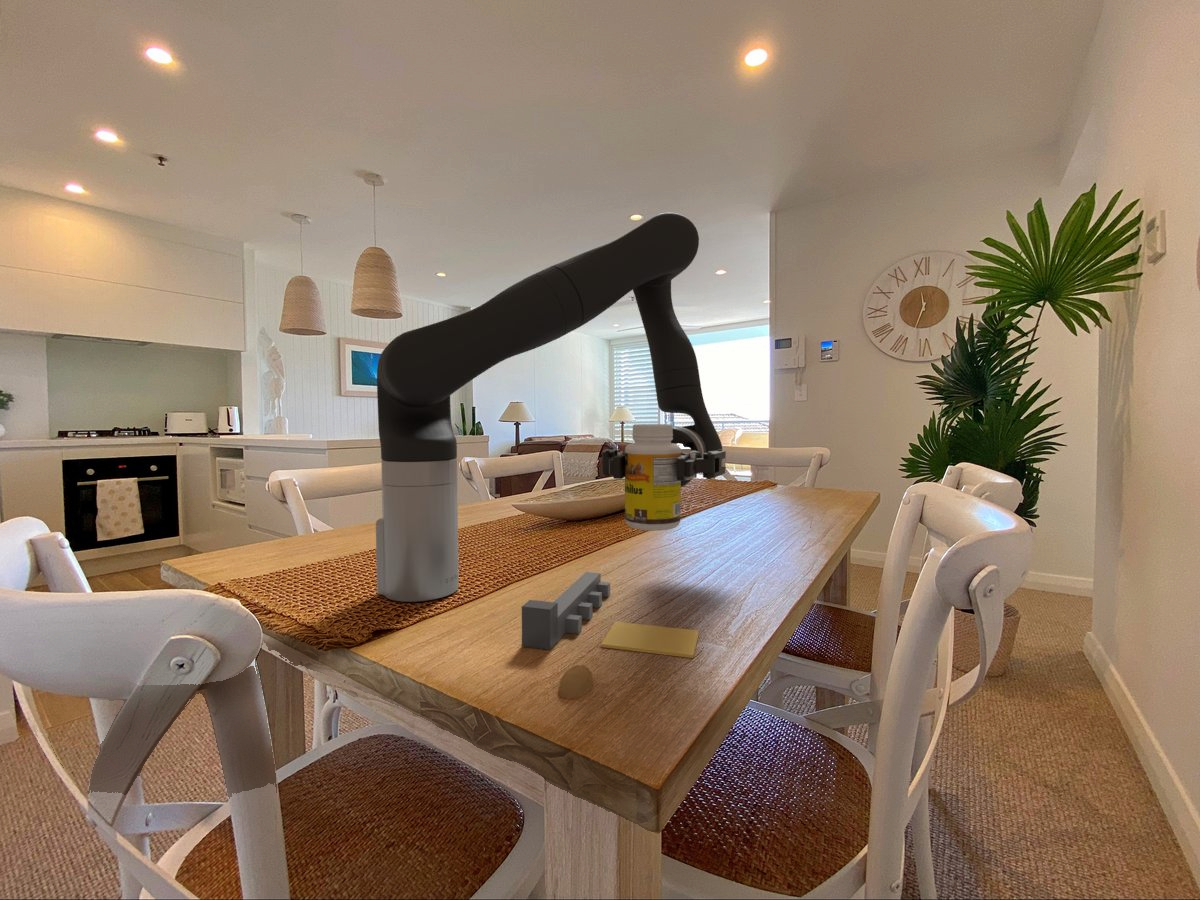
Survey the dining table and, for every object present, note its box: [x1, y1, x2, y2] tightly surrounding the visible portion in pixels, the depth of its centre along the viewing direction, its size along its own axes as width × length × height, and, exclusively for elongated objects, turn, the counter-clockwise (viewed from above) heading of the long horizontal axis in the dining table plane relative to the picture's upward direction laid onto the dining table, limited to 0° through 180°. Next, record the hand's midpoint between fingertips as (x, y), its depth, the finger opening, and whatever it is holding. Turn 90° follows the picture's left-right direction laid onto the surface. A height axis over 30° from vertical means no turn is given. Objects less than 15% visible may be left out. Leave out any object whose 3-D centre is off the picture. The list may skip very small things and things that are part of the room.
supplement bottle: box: [624, 423, 682, 532], centre depth 53 cm, size 6×6×10 cm
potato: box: [557, 664, 594, 700], centre depth 44 cm, size 3×4×2 cm, turn 157°
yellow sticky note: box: [600, 621, 700, 659], centre depth 53 cm, size 9×6×1 cm, turn 74°
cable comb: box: [521, 571, 611, 651], centre depth 60 cm, size 4×18×4 cm, turn 164°
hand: (648, 468), depth 50 cm, fingers closed on supplement bottle, 5 cm apart
